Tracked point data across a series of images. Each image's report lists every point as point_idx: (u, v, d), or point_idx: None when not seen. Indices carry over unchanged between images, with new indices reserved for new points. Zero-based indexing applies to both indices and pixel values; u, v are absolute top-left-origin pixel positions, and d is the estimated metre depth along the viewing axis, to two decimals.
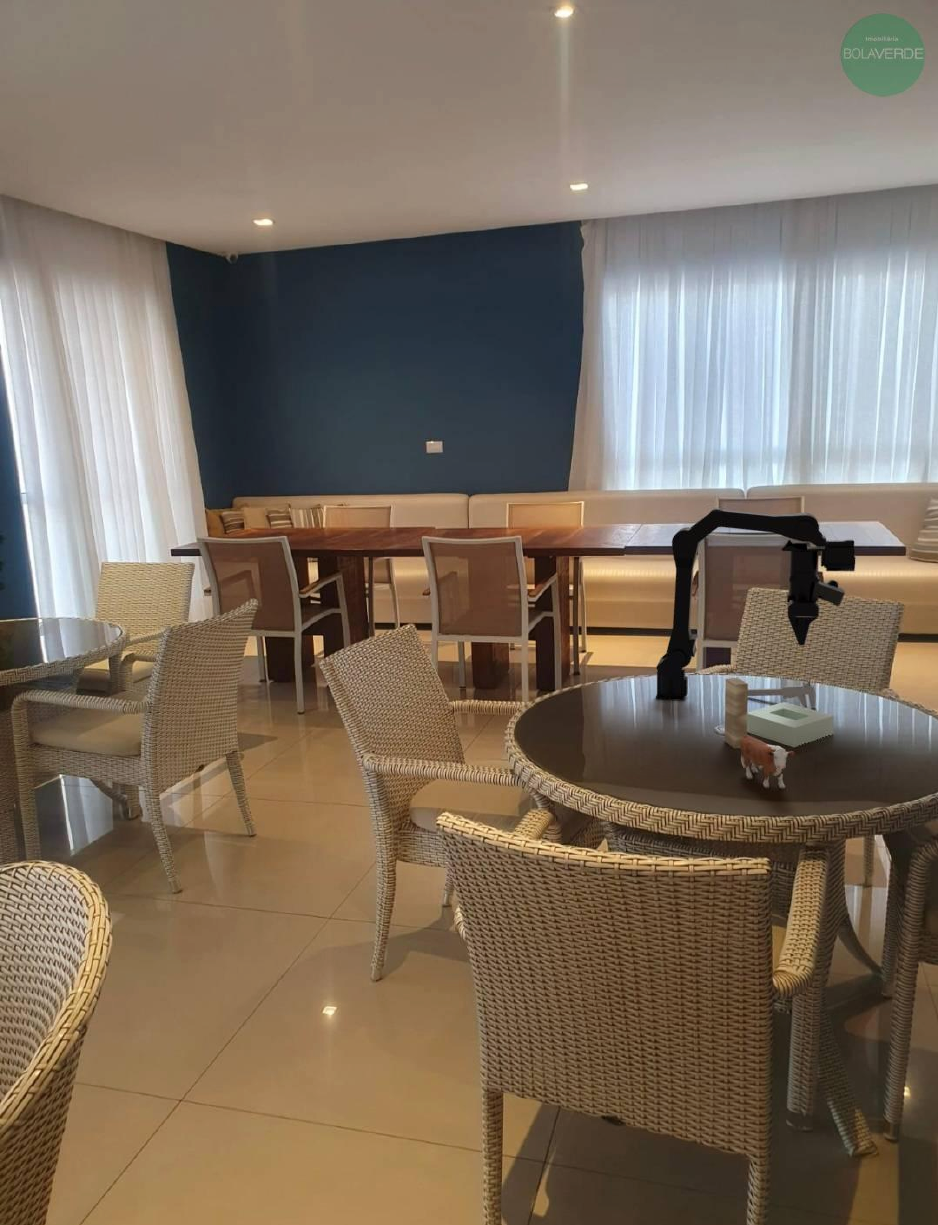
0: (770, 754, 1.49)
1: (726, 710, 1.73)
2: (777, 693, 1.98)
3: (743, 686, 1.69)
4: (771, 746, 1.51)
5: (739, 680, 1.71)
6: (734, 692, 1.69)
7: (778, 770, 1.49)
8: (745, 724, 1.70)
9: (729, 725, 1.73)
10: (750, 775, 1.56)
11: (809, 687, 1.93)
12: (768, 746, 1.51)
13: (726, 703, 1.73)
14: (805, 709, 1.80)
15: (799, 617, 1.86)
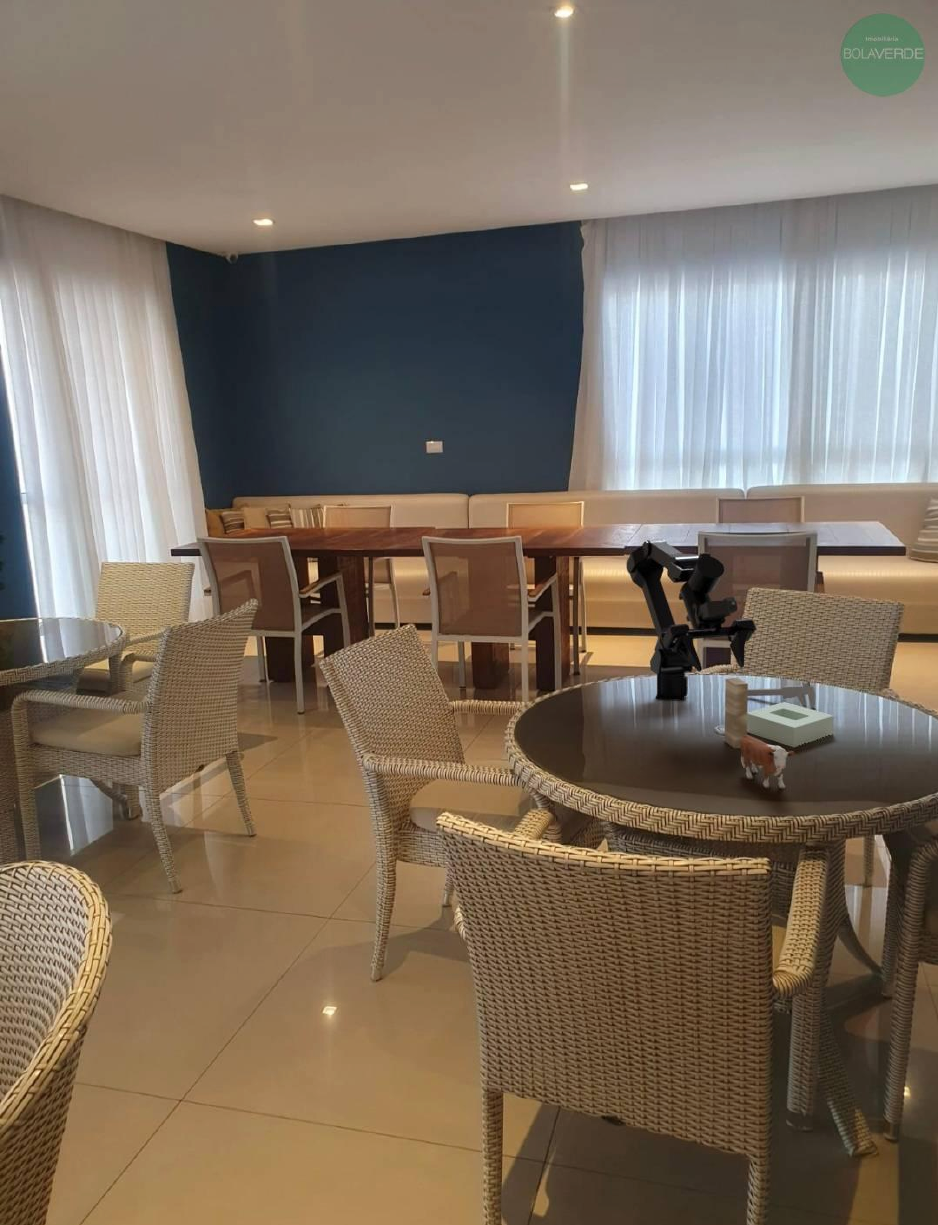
0: (770, 754, 1.49)
1: (726, 710, 1.73)
2: (777, 693, 1.98)
3: (743, 686, 1.69)
4: (771, 746, 1.51)
5: (739, 680, 1.71)
6: (734, 692, 1.69)
7: (778, 770, 1.49)
8: (745, 724, 1.70)
9: (729, 725, 1.73)
10: (750, 775, 1.56)
11: (809, 687, 1.93)
12: (768, 746, 1.51)
13: (726, 703, 1.73)
14: (805, 709, 1.80)
15: (674, 645, 1.82)
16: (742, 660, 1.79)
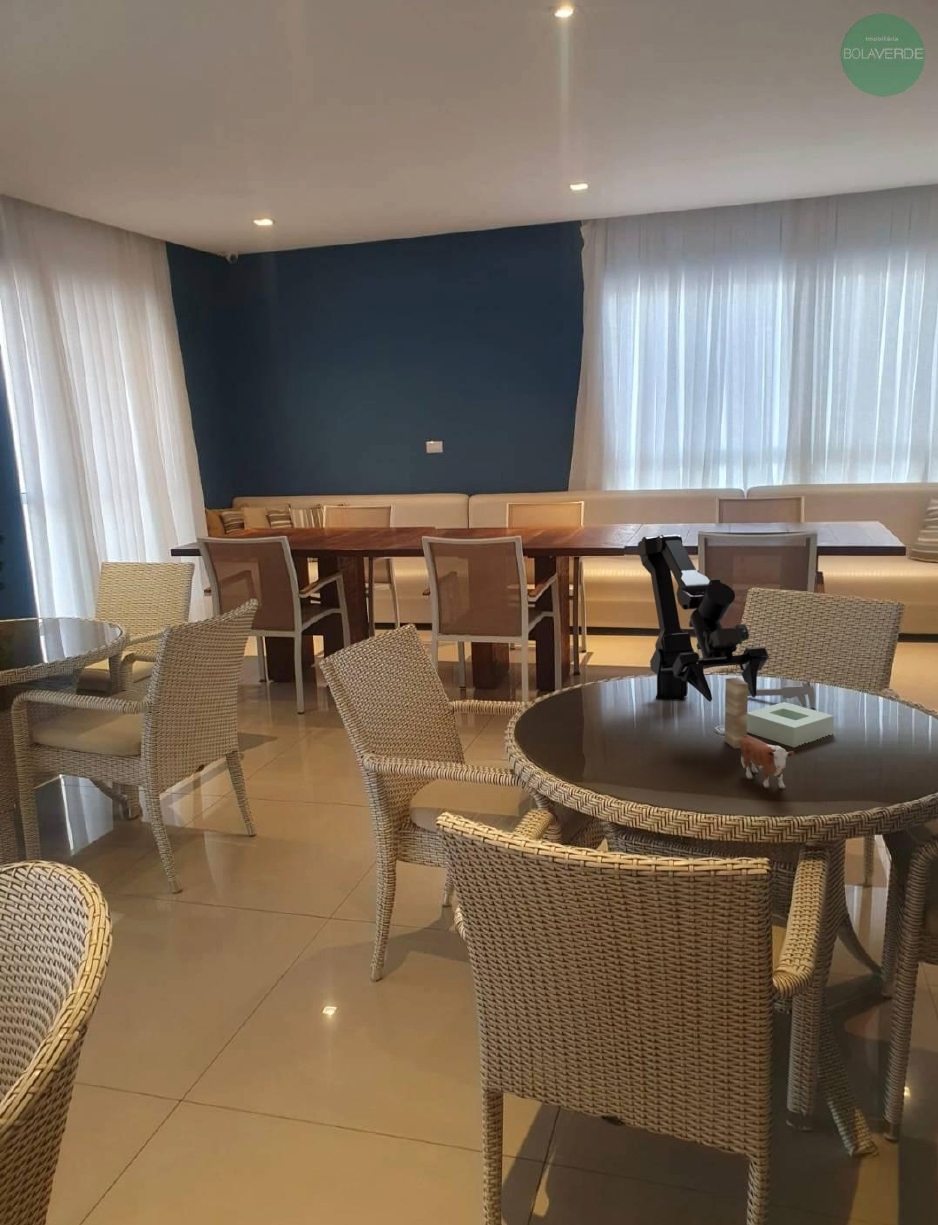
0: (770, 754, 1.49)
1: (726, 710, 1.73)
2: (777, 693, 1.98)
3: (743, 686, 1.69)
4: (771, 746, 1.51)
5: (739, 680, 1.71)
6: (734, 692, 1.69)
7: (778, 770, 1.49)
8: (745, 724, 1.70)
9: (729, 725, 1.73)
10: (750, 775, 1.56)
11: (809, 687, 1.93)
12: (768, 746, 1.51)
13: (726, 703, 1.73)
14: (805, 709, 1.80)
15: (684, 674, 1.76)
16: (754, 690, 1.74)
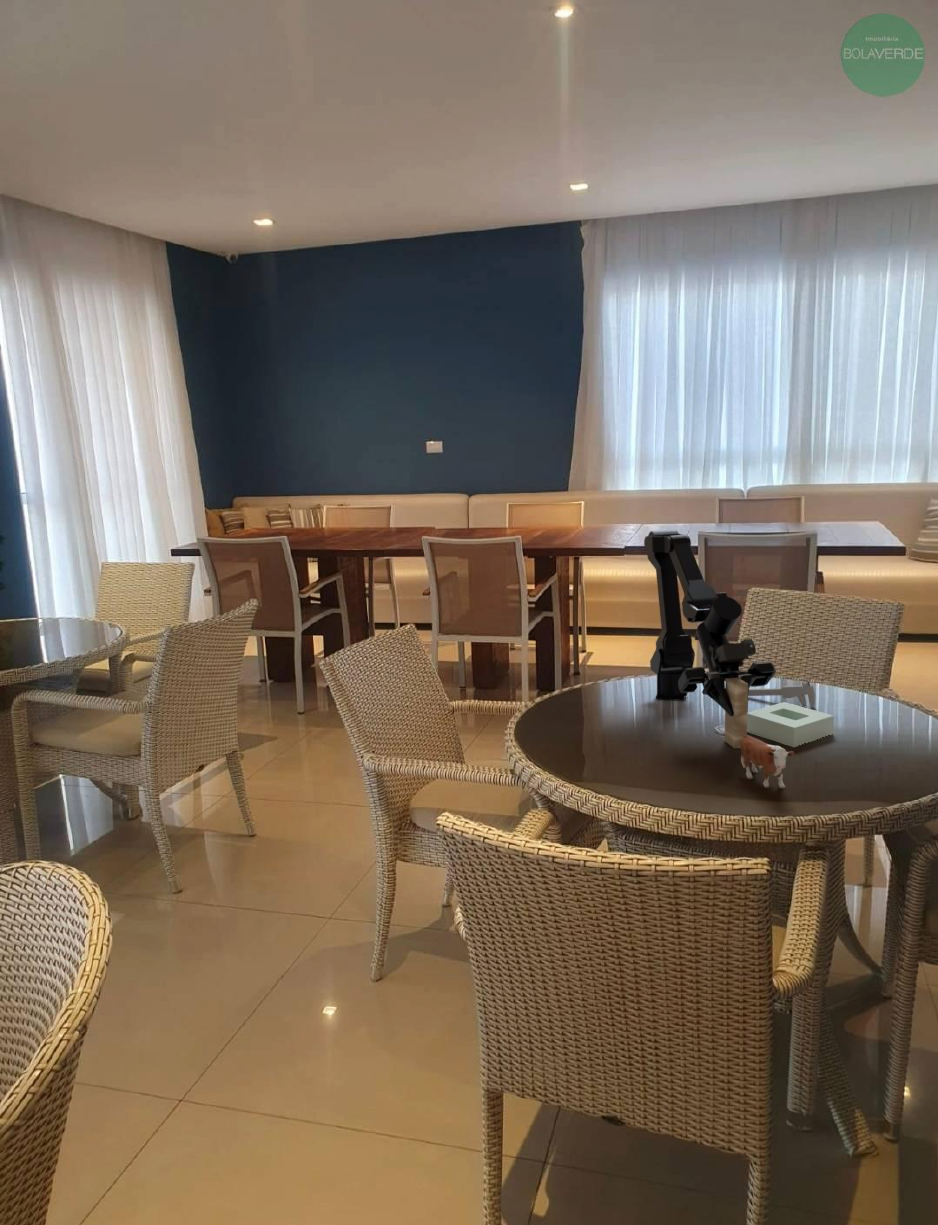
0: (770, 754, 1.49)
1: None
2: (776, 693, 1.98)
3: (743, 686, 1.69)
4: (771, 746, 1.51)
5: (739, 680, 1.71)
6: (734, 691, 1.69)
7: (778, 770, 1.49)
8: (745, 724, 1.70)
9: (729, 725, 1.73)
10: (750, 775, 1.56)
11: (808, 687, 1.93)
12: (768, 746, 1.51)
13: None
14: (805, 709, 1.80)
15: (704, 687, 1.74)
16: None
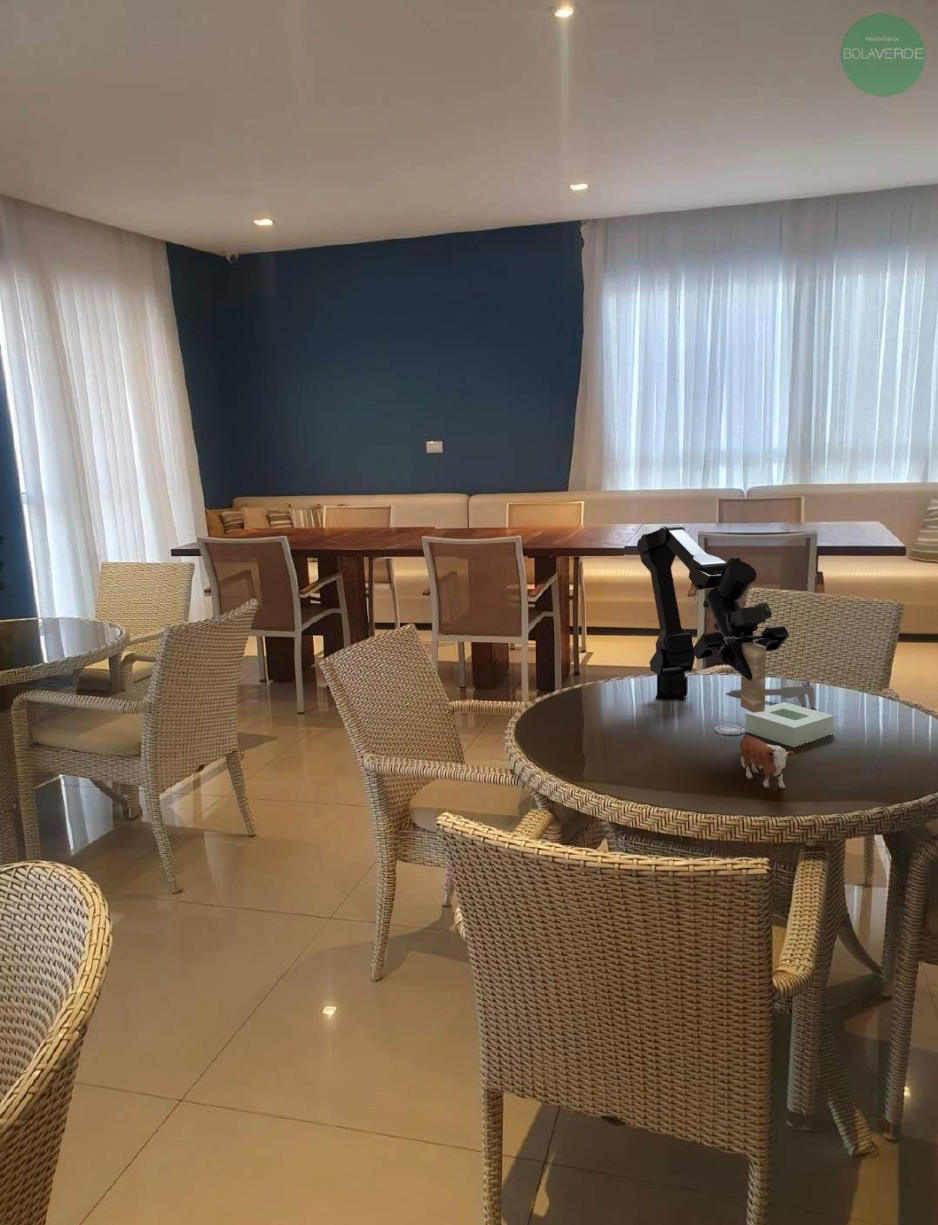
0: (770, 754, 1.49)
1: None
2: (776, 693, 1.98)
3: (762, 650, 1.68)
4: (771, 746, 1.51)
5: (756, 644, 1.71)
6: (753, 655, 1.68)
7: (778, 770, 1.49)
8: (763, 688, 1.70)
9: (746, 689, 1.72)
10: (750, 775, 1.56)
11: (808, 687, 1.93)
12: (768, 746, 1.51)
13: None
14: (805, 709, 1.80)
15: (721, 653, 1.73)
16: None
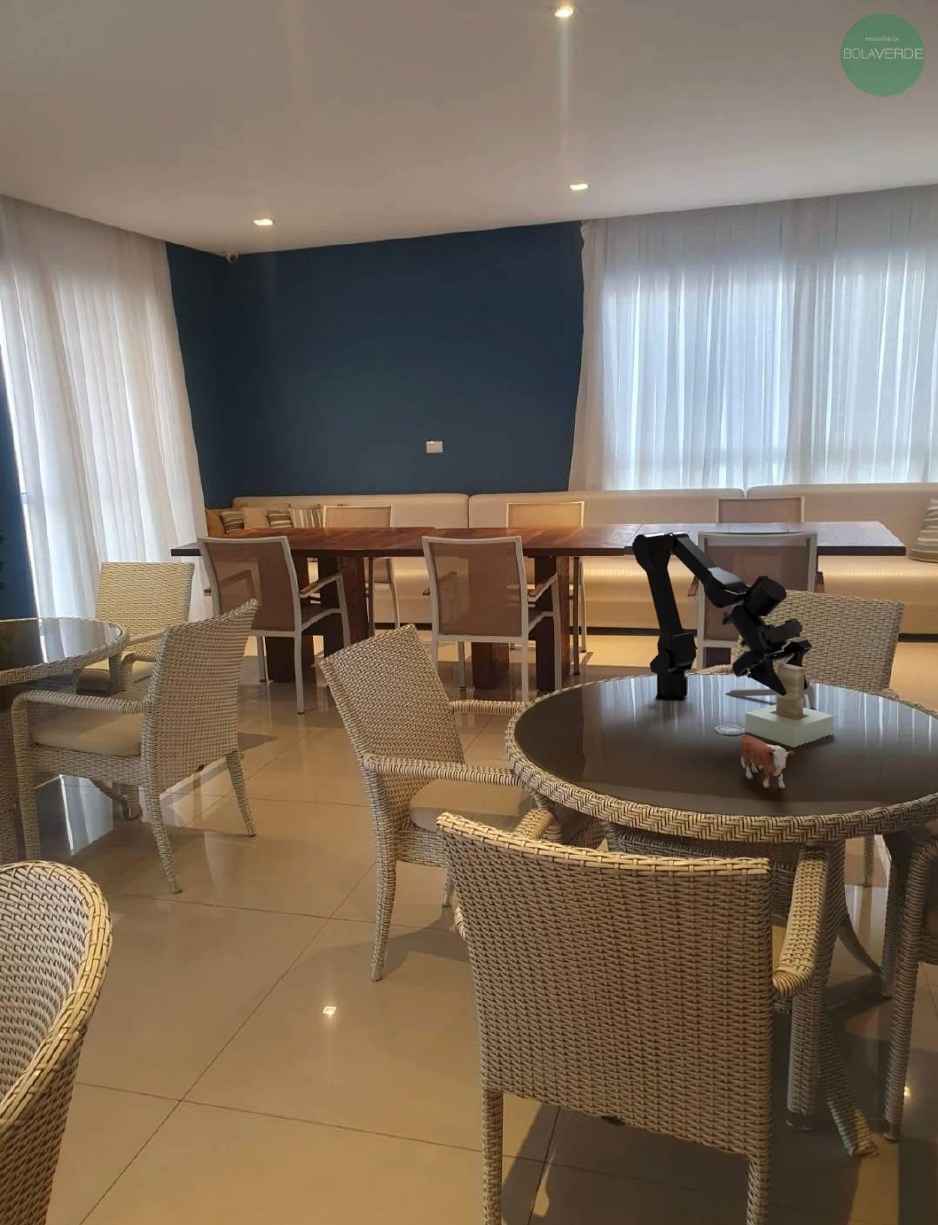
0: (770, 754, 1.49)
1: (779, 696, 1.77)
2: (776, 693, 1.98)
3: (801, 671, 1.74)
4: (771, 746, 1.51)
5: (792, 665, 1.76)
6: (794, 677, 1.74)
7: (778, 770, 1.49)
8: (802, 707, 1.76)
9: (784, 710, 1.77)
10: (750, 775, 1.56)
11: (808, 687, 1.93)
12: (768, 746, 1.51)
13: None
14: (805, 709, 1.80)
15: (752, 671, 1.76)
16: (805, 682, 1.77)
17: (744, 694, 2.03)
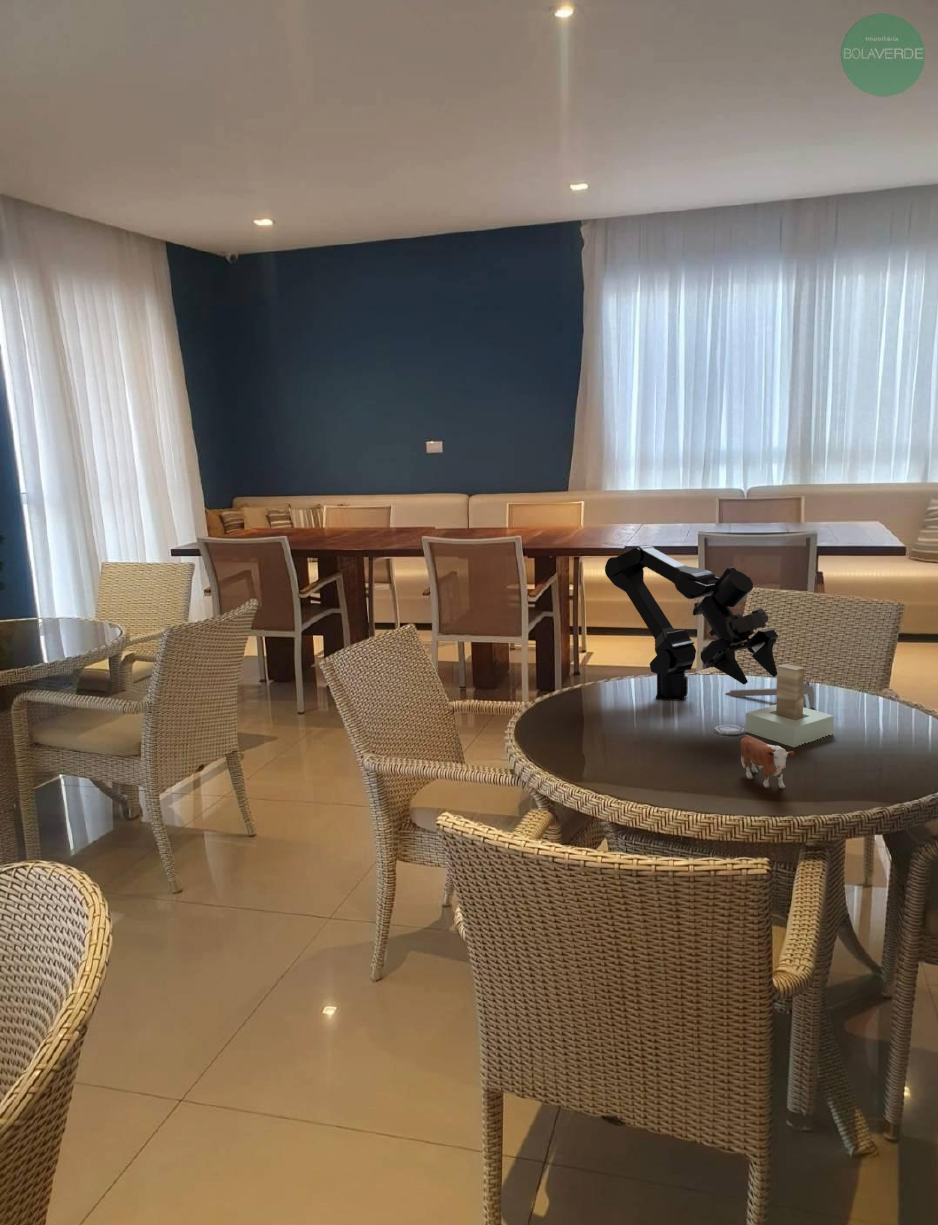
0: (770, 754, 1.49)
1: (779, 696, 1.77)
2: (776, 693, 1.98)
3: (801, 671, 1.74)
4: (771, 746, 1.51)
5: (792, 665, 1.76)
6: (794, 677, 1.74)
7: (778, 770, 1.49)
8: (802, 707, 1.76)
9: (784, 710, 1.77)
10: (750, 775, 1.56)
11: (808, 687, 1.93)
12: (768, 746, 1.51)
13: (779, 689, 1.77)
14: (805, 709, 1.80)
15: (715, 660, 1.82)
16: (775, 669, 1.85)
17: (744, 694, 2.03)
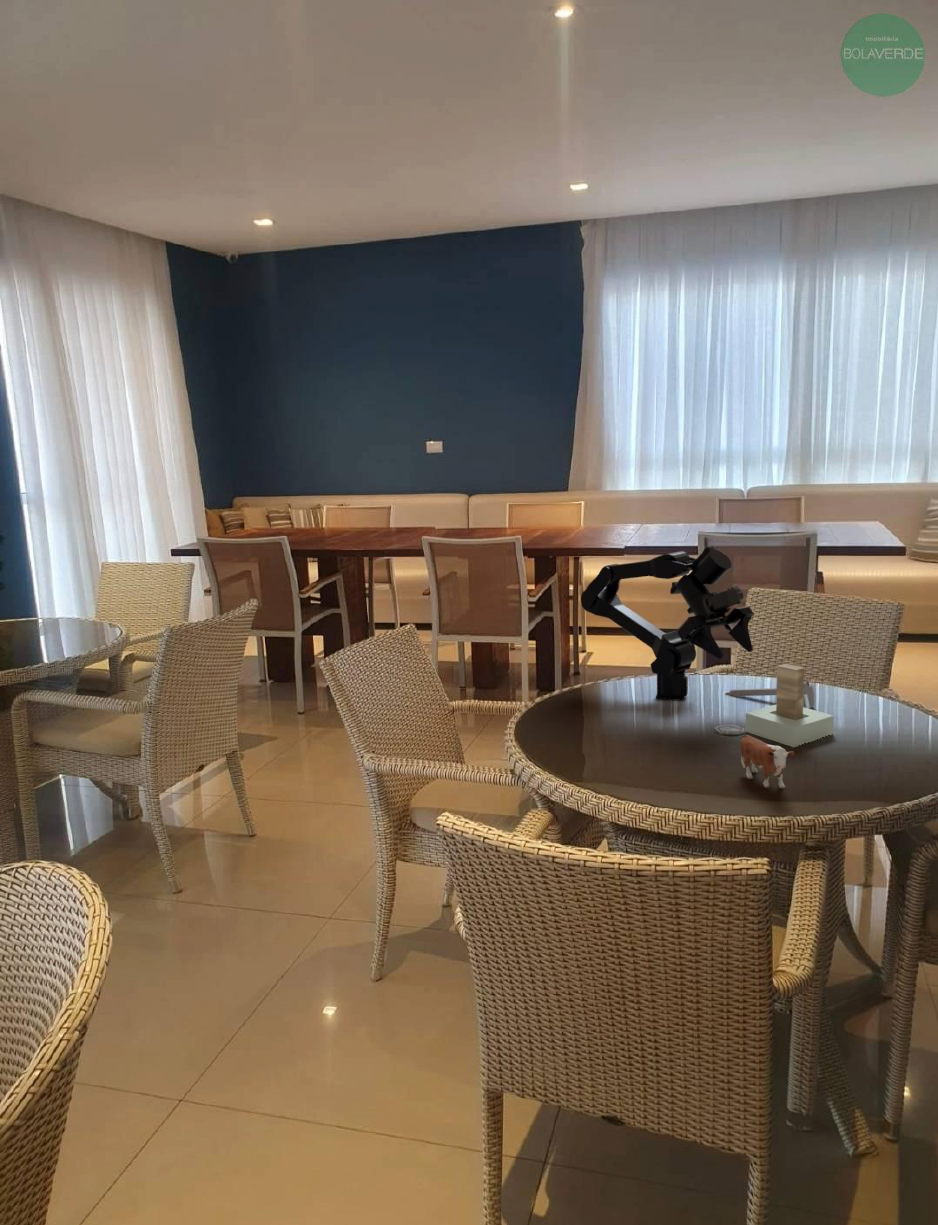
0: (770, 754, 1.49)
1: (779, 696, 1.77)
2: (776, 693, 1.98)
3: (801, 671, 1.74)
4: (771, 746, 1.51)
5: (792, 665, 1.76)
6: (794, 677, 1.74)
7: (778, 770, 1.49)
8: (802, 707, 1.76)
9: (784, 710, 1.77)
10: (750, 775, 1.56)
11: (808, 687, 1.93)
12: (768, 746, 1.51)
13: (779, 689, 1.77)
14: (805, 709, 1.80)
15: (692, 636, 1.88)
16: (750, 645, 1.91)
17: (744, 694, 2.03)
